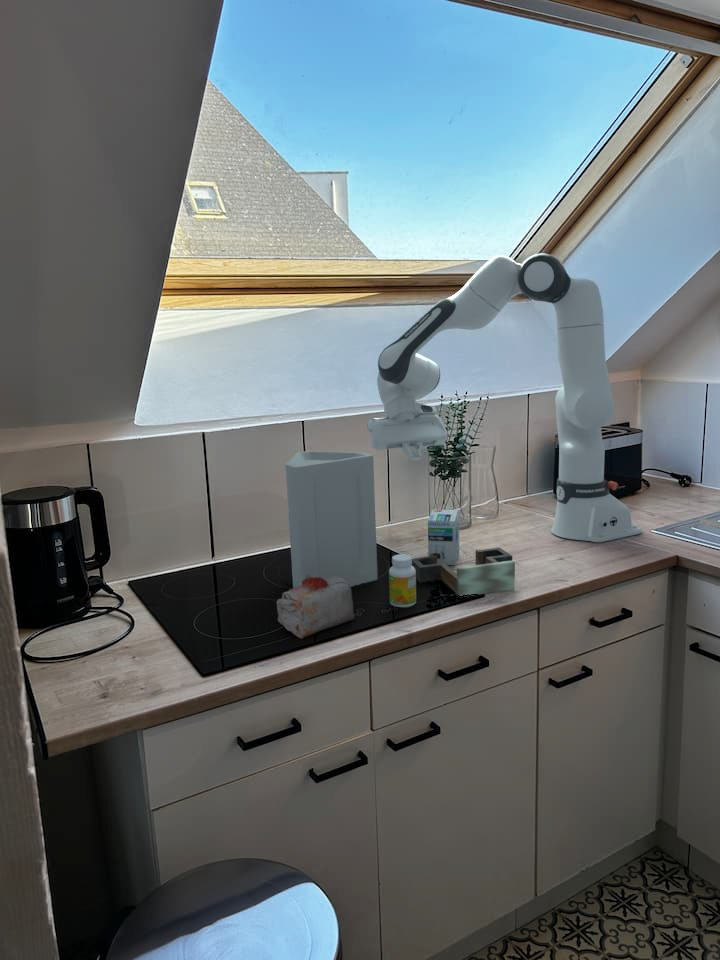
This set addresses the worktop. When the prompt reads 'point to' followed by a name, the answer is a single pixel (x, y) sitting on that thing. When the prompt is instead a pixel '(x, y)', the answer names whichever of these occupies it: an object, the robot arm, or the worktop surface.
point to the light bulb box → (444, 535)
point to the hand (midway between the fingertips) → (415, 458)
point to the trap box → (471, 573)
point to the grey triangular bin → (332, 516)
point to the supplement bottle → (402, 581)
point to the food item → (315, 605)
